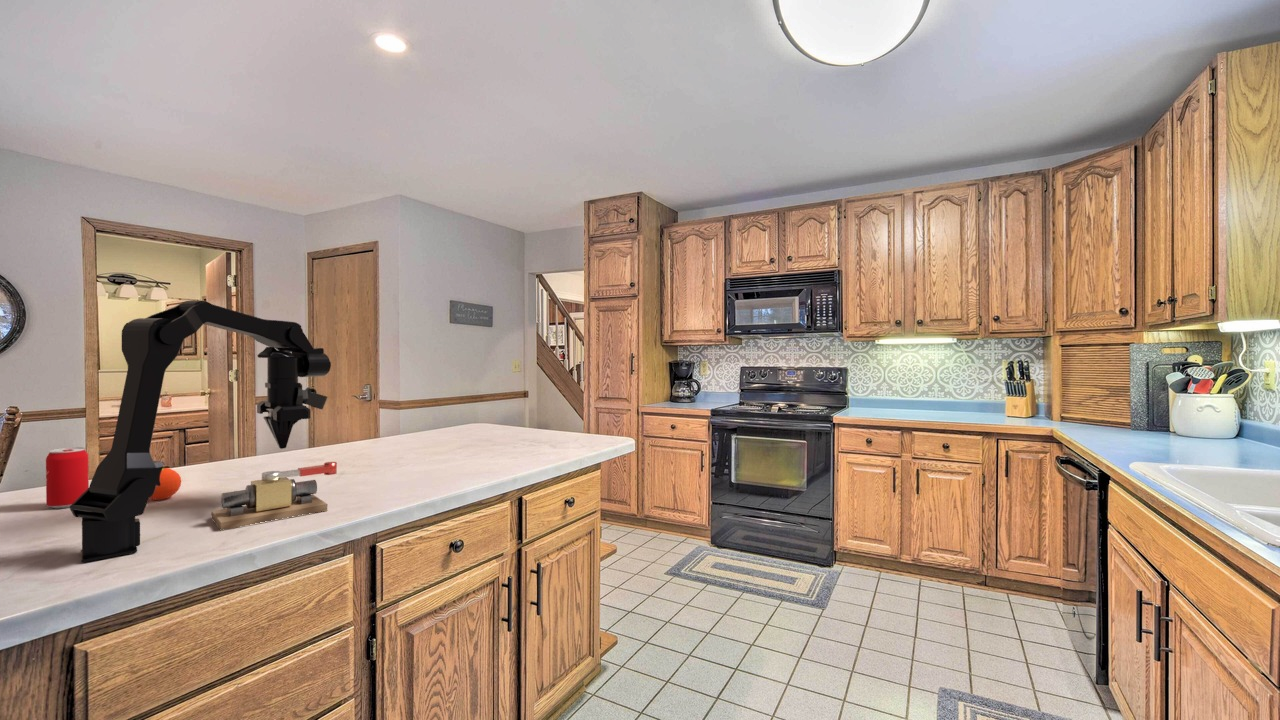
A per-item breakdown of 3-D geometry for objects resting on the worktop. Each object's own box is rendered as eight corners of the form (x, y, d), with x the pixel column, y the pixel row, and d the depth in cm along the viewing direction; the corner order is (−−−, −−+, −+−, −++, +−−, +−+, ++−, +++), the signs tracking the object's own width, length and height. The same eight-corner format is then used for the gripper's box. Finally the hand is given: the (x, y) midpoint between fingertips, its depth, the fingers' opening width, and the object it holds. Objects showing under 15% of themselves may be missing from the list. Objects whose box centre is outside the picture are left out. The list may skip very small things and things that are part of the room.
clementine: (158, 505, 116) (158, 472, 116) (126, 504, 116) (126, 471, 116) (189, 495, 124) (189, 464, 124) (159, 494, 124) (159, 464, 124)
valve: (225, 518, 104) (225, 490, 103) (220, 512, 107) (220, 485, 107) (318, 502, 115) (318, 476, 115) (311, 497, 119) (311, 472, 119)
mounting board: (220, 530, 101) (221, 522, 101) (211, 518, 108) (211, 511, 108) (327, 511, 114) (327, 504, 114) (313, 501, 121) (313, 494, 121)
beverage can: (83, 499, 119) (83, 445, 119) (93, 504, 116) (92, 448, 116) (42, 506, 114) (41, 450, 114) (50, 511, 111) (50, 453, 111)
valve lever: (263, 484, 109) (263, 472, 109) (260, 481, 111) (260, 470, 111) (338, 474, 119) (338, 463, 119) (334, 471, 121) (334, 460, 121)
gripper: (336, 379, 119) (336, 449, 119) (311, 375, 132) (311, 439, 132) (277, 381, 111) (277, 456, 111) (256, 376, 124) (256, 444, 124)
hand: (282, 448), depth 120 cm, fingers closed
